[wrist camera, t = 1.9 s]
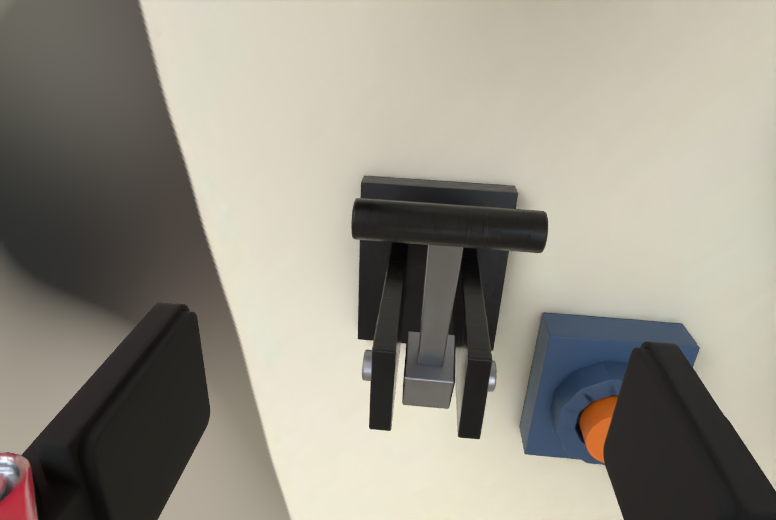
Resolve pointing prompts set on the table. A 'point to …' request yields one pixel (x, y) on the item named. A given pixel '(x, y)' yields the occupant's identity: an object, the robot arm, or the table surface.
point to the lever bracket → (405, 300)
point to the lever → (442, 273)
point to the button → (597, 425)
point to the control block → (582, 375)
